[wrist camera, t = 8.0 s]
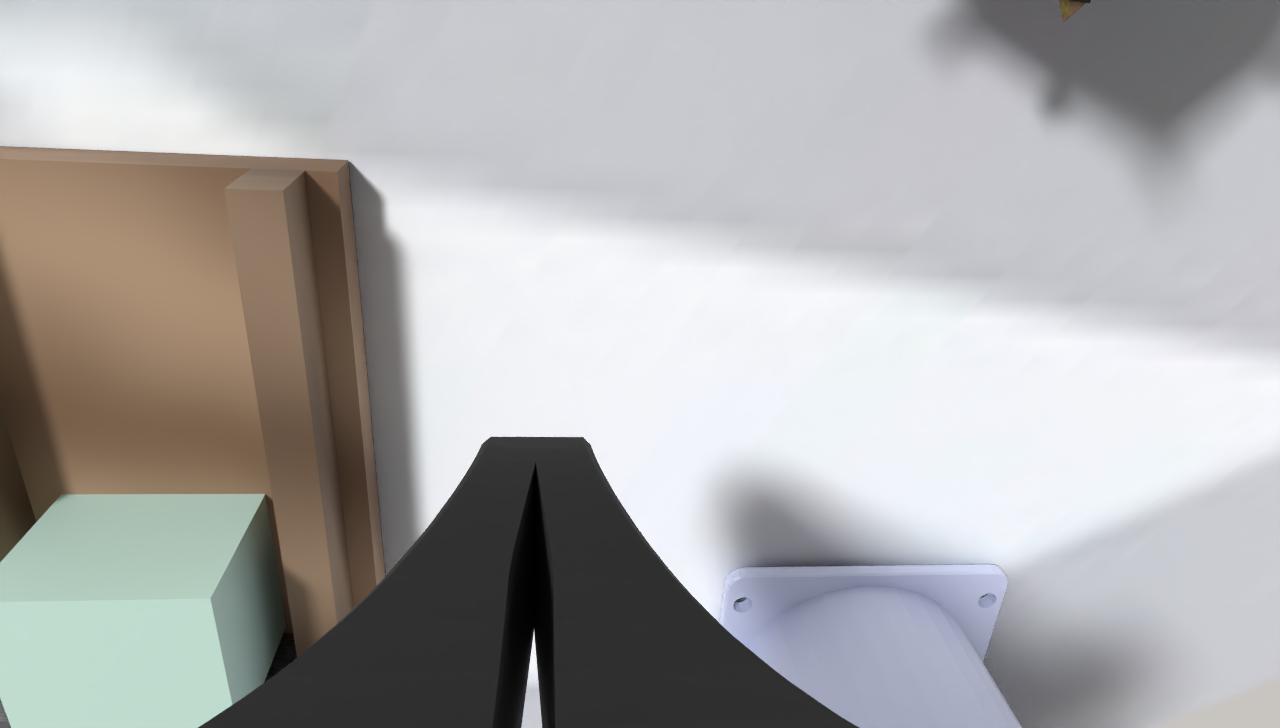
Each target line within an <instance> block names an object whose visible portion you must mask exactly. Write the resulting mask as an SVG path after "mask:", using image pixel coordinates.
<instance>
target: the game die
mask: <svg viewBox="0 0 1280 728" xmlns="http://www.w3.org/2000/svg"><path fill="white" fill-rule="evenodd" d="M1090 1H1091V0H1059V3H1060V7H1061V12H1062V16H1063V20H1064V21H1065V20H1066V19H1067V18H1069V17H1070V16H1071V15H1072V14H1073V13H1074V12H1076V11H1077V10H1078V9H1079V8H1080V7H1081V6H1083V5H1084V4H1085V3H1090Z"/></svg>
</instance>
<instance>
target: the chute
mask: <svg viewBox="0 0 1280 728" xmlns="http://www.w3.org/2000/svg"><path fill="white" fill-rule="evenodd" d="M61 494H265V496H266V502H267V508H268V514H269V521H270V527H271V533H272V539H273V546H274V552H275V558H276V564H277V571H278V577H279V583H280V589H281V596H282V602H283V608H284V614H285V621H286V628H285V630H284V633H283V636H282V638H281V641H280V643H279V646H278V648H277V651H276V653H275V656H274V659H273V661H272V664H271V666H270V669H269V671H268V674H267V676H266V679H265V682H266V681H267V680H269V679H270V678H272V677H273V676H274V675H276V674H277V673H278V672H280V671H281V670H282V669H284V668H285V667H286V666H287V665H289V664H290V663H291V662H292V661H294V660H295V659H296V658H297V657H299V656H300V655H301V654H302V653H303V652H305V651H306V650H307V649H308V648H309V647H310V646H312V645H313V644H314V643H315V642H316V641H317V640H319V639H320V638H321V637H322V636H323V635H324V634H326V633H327V632H328V631H329V630H330V629H332V628H333V627H334V626H335V625H336V624H337V623H339V622H340V621H341V620H342V619H343V618H344V617H345V616H346V615H347V614H348V613H349V612H350V611H351V610H352V609H353V608H355V607H356V606H357V605H358V604H359V603H360V602H361V601H362V600H363V599H364V598H365V597H366V596H367V595H368V594H369V593H370V592H371V591H372V590H373V589H374V588H375V587H376V586H377V585H378V584H379V583H380V582H381V581H382V580H383V579H384V578H385V568H384V556H383V545H382V534H381V523H380V511H379V500H378V489H377V478H376V467H375V455H374V444H373V433H372V422H371V411H370V399H369V388H368V377H367V366H366V354H365V343H364V332H363V321H362V310H361V298H360V287H359V276H358V265H357V254H356V242H355V231H354V220H353V209H352V198H351V186H350V175H349V164H348V160H328V159H303V158H278V157H253V156H228V155H204V154H179V153H154V152H129V151H104V150H80V149H55V148H30V147H5V146H0V562H1V561H2V560H3V559H4V558H5V557H6V556H7V554H8V553H9V552H10V551H11V550H12V549H13V548H14V547H15V545H16V544H17V543H18V542H19V541H20V540H21V539H22V538H23V537H24V535H25V534H26V533H27V532H28V531H29V530H30V529H31V528H32V527H33V525H34V524H35V523H36V522H37V521H38V520H39V519H40V518H41V517H42V515H43V514H44V513H45V512H46V511H47V510H48V509H49V508H50V506H51V505H52V504H53V503H54V502H55V501H56V500H57V499H58V498H59V496H60V495H61ZM265 682H264V683H265ZM0 728H11V726H10V723H9V720H8V718H7V715H6V712H5V710H4V707H3V704H2V702H1V699H0Z"/></svg>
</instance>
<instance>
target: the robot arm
mask: <svg viewBox="0 0 1280 728" xmlns="http://www.w3.org/2000/svg"><path fill="white" fill-rule="evenodd" d="M1007 586H1008V578H1007V576H1006V575H1005V573H1004V572H1003V570H1002V569H1001V568H1000V567H998V566H997V565H991V564H977V565H897V566H817V567H744V568H738V569H736V570H734V571H732V572H730V573H729V574H728V576H727V577H726V579H725V582H724V588H723V596H722V603H721V610H720V618H719V622H718V621H717V620H716V619H715V618H714V617H713V616H711V614H710V613H709V612H708V611H707V610H706V609H705V608H704V607H703V606H702V605H701V604H700V603H699V602H698V601H697V600H696V599H695V598H694V597H693V596H692V595H691V594H690V593H689V592H688V591H687V589H686V588H685V587H684V586H683V585H682V584H681V583H680V582H679V580H678V579H677V578H676V577H675V576H674V575H673V573H672V572H671V571H670V570H669V569H668V567H667V566H666V565H665V564H664V562H663V561H662V560H661V559H660V557H659V556H658V555H657V554H656V552H655V551H654V550H653V549H652V547H651V546H650V545H649V543H648V542H647V541H646V539H645V538H644V537H643V535H642V534H641V532H640V531H639V530H638V528H637V527H636V525H635V524H634V522H633V521H632V519H631V518H630V516H629V515H628V513H627V512H626V510H625V509H624V507H623V506H622V504H621V503H620V501H619V500H618V498H617V496H616V495H615V493H614V491H613V490H612V488H611V486H610V484H609V483H608V481H607V479H606V477H605V476H604V474H603V472H602V470H601V468H600V466H599V464H598V462H597V460H596V457H595V455H594V453H593V450H592V448H591V445H590V444H589V443H588V442H587V441H586V440H585V439H584V438H583V437H490V438H489V439H488V440H487V441H485V442H484V443H483V444H482V446H481V448H480V450H479V452H478V454H477V456H476V458H475V459H474V461H473V463H472V465H471V466H470V468H469V470H468V471H467V473H466V474H465V476H464V478H463V479H462V481H461V482H460V484H459V485H458V487H457V488H456V490H455V491H454V493H453V494H452V495H451V497H450V498H449V499H448V501H447V502H446V504H445V505H444V506H443V508H442V509H441V510H440V512H439V513H438V515H437V516H436V517H435V519H434V520H433V521H432V523H431V524H430V525H429V527H428V528H427V529H426V530H425V532H424V533H423V534H422V535H421V536H420V537H419V539H418V540H417V541H416V542H415V543H414V545H413V546H412V547H411V548H410V549H409V550H408V552H407V553H406V554H405V555H404V556H403V557H402V559H401V560H400V561H399V562H398V563H397V564H396V566H395V567H394V568H393V569H392V570H391V571H390V572H389V573H388V574H387V575H386V576H385V578H384V579H383V580H382V581H381V582H380V583H379V584H378V585H377V586H376V587H375V588H374V589H373V590H372V591H371V592H370V593H369V594H368V595H367V596H366V597H365V598H364V599H363V600H362V601H361V602H360V603H359V604H358V605H357V606H356V607H355V608H353V609H352V610H351V611H350V612H349V613H348V614H347V615H346V616H345V617H344V618H343V619H342V620H341V621H340V622H339V623H337V624H336V625H335V626H334V627H333V628H332V629H330V630H329V631H328V632H327V633H326V634H324V635H323V636H322V637H321V638H320V639H319V640H317V641H316V642H315V643H314V644H313V645H312V646H310V647H309V648H308V649H307V650H306V651H305V652H303V653H302V654H301V655H300V656H299V657H297V658H296V659H295V660H294V661H292V662H291V663H290V664H289V665H287V666H286V667H285V668H284V669H282V670H281V671H280V672H278V673H277V674H276V675H274V676H273V677H272V678H270V679H269V680H267V681H266V682H265V683H263V684H262V685H260V686H259V687H257V688H256V689H255V690H253V691H252V692H250V693H249V694H248V695H246V696H245V697H243V698H242V699H241V700H239V701H237V702H236V703H234V704H233V705H231V706H230V707H228V708H227V709H225V710H224V711H222V712H221V713H219V714H218V715H216V716H215V717H213V718H212V719H210V720H209V721H207V722H206V723H204V724H203V725H201V726H200V727H198V728H521V724H522V717H523V709H524V701H525V694H526V686H527V679H528V671H529V663H530V655H531V648H532V640H533V632H534V631H535V644H536V656H537V668H538V680H539V692H540V704H541V716H542V728H1022V727H1021V725H1020V724H1019V722H1018V720H1017V719H1016V717H1015V715H1014V714H1013V712H1012V710H1011V709H1010V707H1009V705H1008V704H1007V702H1006V700H1005V699H1004V697H1003V695H1002V694H1001V692H1000V690H999V689H998V687H997V685H996V684H995V682H994V680H993V679H992V677H991V675H990V674H989V672H988V670H987V669H986V667H985V665H984V664H983V660H984V657H985V654H986V651H987V648H988V645H989V642H990V639H991V636H992V633H993V630H994V627H995V623H996V620H997V617H998V614H999V611H1000V608H1001V605H1002V602H1003V599H1004V596H1005V593H1006V590H1007ZM985 594H988V595H986V596H985V597H983V598H980V597H982V596H983V595H985ZM743 597H745V598H748V599H746V600H745V601H743V602H735V601H736V600H737V599H739V598H743Z"/></svg>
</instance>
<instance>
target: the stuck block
mask: <svg viewBox="0 0 1280 728" xmlns="http://www.w3.org/2000/svg"><path fill="white" fill-rule="evenodd" d="M285 628H286V621H285V614H284V608H283V602H282V596H281V589H280V583H279V577H278V571H277V564H276V558H275V552H274V546H273V539H272V533H271V527H270V521H269V514H268V508H267V502H266V496H265V494H61V495H60V496H59V498H58V499H57V500H56V501H55V502H54V503H53V504H52V505H51V506H50V508H49V509H48V510H47V511H46V512H45V513H44V514H43V515H42V517H41V518H40V519H39V520H38V521H37V522H36V523H35V524H34V525H33V527H32V528H31V529H30V530H29V531H28V532H27V533H26V534H25V535H24V537H23V538H22V539H21V540H20V541H19V542H18V543H17V544H16V545H15V547H14V548H13V549H12V550H11V551H10V552H9V553H8V554H7V556H6V557H5V558H4V559H3V560H2V561H1V562H0V699H1V702H2V704H3V707H4V710H5V712H6V715H7V718H8V720H9V723H10V726H11V728H198V727H200V726H201V725H203V724H204V723H206V722H207V721H209V720H210V719H212V718H213V717H215V716H216V715H218V714H219V713H221V712H222V711H224V710H225V709H227V708H228V707H230V706H231V705H233V704H234V703H236V702H237V701H239V700H241V699H242V698H243V697H245V696H246V695H248V694H249V693H250V692H252V691H253V690H255V689H256V688H257V687H259V686H260V685H262V684H263V683H264V682H265V679H266V676H267V674H268V671H269V669H270V666H271V664H272V661H273V659H274V656H275V653H276V651H277V648H278V646H279V643H280V641H281V638H282V636H283V633H284V630H285Z"/></svg>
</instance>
